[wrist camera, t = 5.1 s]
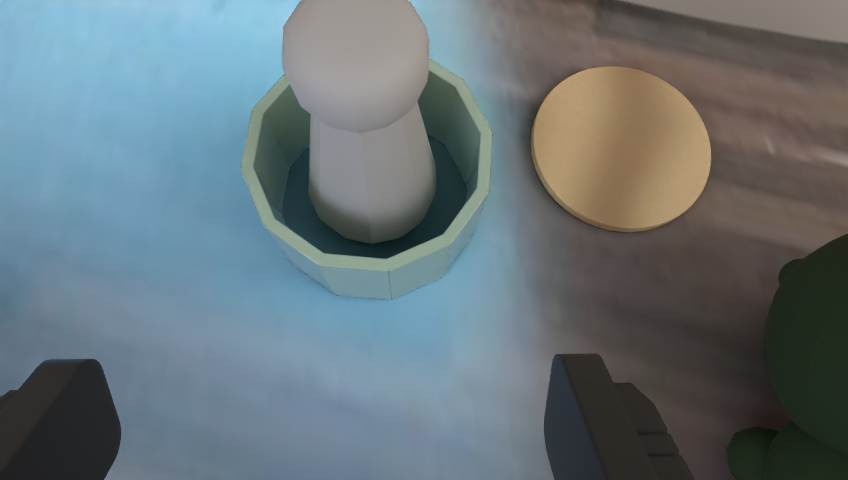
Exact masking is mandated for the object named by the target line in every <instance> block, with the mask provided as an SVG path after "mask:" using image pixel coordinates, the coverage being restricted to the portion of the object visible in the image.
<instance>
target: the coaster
mask: <svg viewBox="0 0 848 480" xmlns="http://www.w3.org/2000/svg"><path fill="white" fill-rule="evenodd" d="M531 153H532V158H533V162H534V166H535V169H536V172H537V174H538V176H539V178H540V180H541V182H542V184H543V185H544V187H545V188H546V190H547V191H548V193H549V194H550V195H551V196H552V197H553V198H554V200H555V201H556V202H557V203H558V204H560V205H561V206H562V207H563V208H564V209H565V210H566V211H568V212H569V213H571V214H572V215H573V216H575V217H577V218H579V219H580V220H582V221H584V222H586V223H589V224H591V225H593V226H596V227H599V228H603V229H606V230H612V231H618V232H638V231H646V230H650V229H654V228H657V227H660V226H662V225H665V224H667V223H669V222H670V221H672V220H674V219H676V218H677V217H678V216H680V215H681V214H682V213H684V212H685V211H686V210H687V209H689V208H690V207H691V205H692V204H693V203H694V202H695V201H696V200H697V198H698V197H699V196H700V194H701V193H702V191H703V189H704V187H705V185H706V182H707V179H708V176H709V173H710V166H711V148H710V141H709V137H708V134H707V131H706V128H705V126H704V123H703V121H702V119H701V118H700V116H699V114H698V113H697V111H696V110H695V108H694V107H693V106H692V104H691V103H690V102H689V101H688V100H687V99H686V98H685V97H684V96H683V95H682V94H681V93H680V92H679V91H678V90H677V89H675V88H674V87H673V86H671V85H670V84H668V83H667V82H665V81H664V80H662V79H660V78H658V77H656V76H654V75H652V74H649V73H647V72H644V71H641V70H637V69H633V68H627V67H620V66H605V67H596V68H591V69H587V70H584V71H581V72H578V73H576V74H574V75H572V76H570V77H568V78H567V79H565V80H564V81H562V82H560V83H559V84H558V85H557V86H556V87H555V88H554V89H552V91H551V92H550V93H549V94H548V95H547V97H546V98H545V99H544V101H543V103H542V104H541V106H540V108H539V111H538V113H537V115H536V118H535V120H534V124H533V127H532V133H531Z"/></svg>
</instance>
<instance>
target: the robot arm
mask: <svg viewBox="0 0 848 480" xmlns="http://www.w3.org/2000/svg"><path fill="white" fill-rule="evenodd" d="M544 435H545V444H546V450H547V454H548V458H549V462H550V465H551V469H552V472H553V476H554V479H555V480H694V478H693V476H692V474H691V472H690V470H689V469H688V467H687V465H686V463H685V461H684V459H683V457H682V456H679V452H678V451H679V450H678V448H677V446H676V444H675V442H674V441H673V439H672V437H671V435H670V434H668V433H667V428H666V426H665V424H664V422H663V420H662V418H661V416H660V415H659V413H658V411H657V409H656V407H655V405H654V404H653V403H652V402H651V401H650V400H649V399H648V398H647V397H646V396H645V395H643V394H642V393H641V392H640V391H639V390H638V389H637V388H636V387H635V386H634V385H633V384H631V383H613V381H612V379H611V376H610V374H609V372H608V370H607V368H606V366H605V364H604V362H603V360H602V358H601V356H600V355H598V354H556V355H555V356H554V358H553V362H552V368H551V375H550V382H549V389H548V396H547V403H546V410H545V417H544ZM120 440H121V426H120V421H119V418H118V415H117V412H116V409H115V406H114V403H113V400H112V396H111V393H110V390H109V387H108V384H107V381H106V378H105V375H104V372H103V369H102V366H101V365H100V363H99V362H98V361H97V360H95V359H50V360H46V361H44V362H42V363H41V364H40V365H39V366H38V367H37V368H36V369H35V371H34V372H33V373H32V374H31V375H30V376H29V378H28V379H27V380H26V381H25V382H24V383H23V385H22V386H21V387H20V388H19V389H18V390H10V391H9V392H7V393H6V394H5V395H3V396H2V397H0V480H104V479H105V477H106V475H107V473H108V471H109V470H110V468H111V466H112V464H113V462H114V460H115V458H116V456H117V453H118V450H119V446H120Z"/></svg>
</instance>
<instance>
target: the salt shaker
mask: <svg viewBox="0 0 848 480" xmlns="http://www.w3.org/2000/svg"><path fill="white" fill-rule="evenodd" d="M282 64H283V70H284V73H285V75H286V77H287V79H288V81H289V83H290V85H291V87H292V89H293V92H294V94H295V96H296V98H297V100H298V102H299V104H300V106H301V107H302V108H303V109H304V110H306V111H307V112H309V113H310V114H311V119H310V146H309V177H308V194H309V197H310V199H311V201H312V203H313V205H314V208H315V210H316V212H317V214H318V216H319V219H321V220H322V221H323V222H324V223H325V224H327V225H328V226H330V227H331V228H332V229H334V230H335V231H336V232H338V233H339V234H340V235H342V236H343V237H344V238H347V239H351V240H356V241H360V242H365V243H369V244H376V243H380V242H385V241H389V240H394V239H398V238H401V237H403V236H404V235H405V234H406V233H408V232H409V231H410V230H412V229H413V228H414V227H416V226H417V225H418V224H419V223H421V222H422V221H423V220H424V218H425V216H426V214H427V212H428V209H429V207H430V205H431V203H432V201H433V199H434V197H435V195H436V164H435V161H434V157H433V154H432V151H431V147H430V144H429V140H428V137H427V133H426V130H425V126H424V123H423V119H422V116H421V113H420V109H419V106H418V102H417V101H418V99H419V97H420V95H421V93H422V91H423V89H424V87H425V85H426V83H427V80H428V73H429V40H428V35H427V30H426V27H425V25H424V24H423V22H422V20H421V19H420V17H419V15H418V14H417V12H416V10H415V9H414V7H413V5H412V4H411V3H410V2H409V1H407V0H302V1H301V2H299V4H298V5H297V7H296V8H295V10H294V11H293V13H292V14H291V16H290V17H289V19H288V20H287V22H286V23H285V25H284V27H283V45H282Z"/></svg>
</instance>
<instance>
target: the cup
mask: <svg viewBox="0 0 848 480" xmlns="http://www.w3.org/2000/svg"><path fill="white" fill-rule="evenodd" d="M417 102H418V106H419V109H420V113H421V116H422V119H423V123H424V126H425V130H426V133H427V134H428V135H430V136H431V137H433V138H435V139H436V140H438V141H439V142H441V143H442V144H444V145H445V146H446V147H447V149H448V151H449V152H450V154H451V156H452V158H453V160H454V162H455V164H456V166H457V168H458V170H459V172H460V174H461V175H462V177H463V179H464V181H465V183H466V185H467V188H466V202H465V205H464V206H463V208H462V209H461V210H460V212H459V213H458V214H457V216H456V217H455V218H454V220H453V221H452V223H451V224H450V225H449V227H448V228H447V229H446V231H445V232H444V234H442V235H440V236H438V237H436V238H433V239H431V240H429V241H426V242H424V243H422V244H420V245H417V246H415V247H413V248H410V249H408V250H406V251H404V252H401V253H399V254H397V255H394V256H392V257H390V258H387V259H382V258H371V257H360V256H350V255H339V254H328V253H323V252H322V251H320V250H319V249H317V248H316V247H315V246H313V245H312V244H310V243H309V242H307V241H306V240H305V239H303V238H302V237H300V236H299V235H298V234H296V233H295V232H293V231H292V230H290V229H289V228H288V227H287V225H286V222H285V220H284V218H283V215H282V209H283V203H284V197H285V191H286V186H287V180H288V174H289V169H290V167H291V166H292V165H293V164H294V163H295V162H296V160H297V159H298V158H299V157H300V156H301V155H302V153H303V152H304V151H305V150H306V149H307V148H308V146H309V145H310V119H311V114H310V113H309V112H307V111H306V110H304V109H303V108H302V107H301V106H300V104H299V102H298V100H297V98H296V96H295V94H294V92H293V89H292V87H291V85H290V83H289V81H288V79H287V77H286V75H285V74H284V75H283V76H282V77H281V78H280V79H279V80H278V81H277V83H276V84H275V85H274V86H273V87H272V88H271V89H270V90H269V91H268V92H267V94H266V95H265V96H264V97H263V98H262V99H261V100H260V101H259V102H258V104H257V105H256V106H255V107H254V108H253V110H252V113H251V118H250V123H249V128H248V133H247V138H246V143H245V148H244V153H243V158H242V163H241V172H242V174H243V177H244V179H245V182H246V184H247V187H248V189H249V191H250V194H251V196H252V199H253V201H254V204H255V206H256V209H257V211H258V214H259V216H260V218H261V221H262V223H263V226H264V227H265V228H266V230H267V231H268V232H269V234H270V235H271V236H272V238H273V239H274V240H275V242H276V243H277V245H278V246H279V247H280V249H281V250H282V251H283V253H284V254H285V255H286V257H287V258H288V259H289V261H290V262H291V263H292V264H293V265H294V266H295V267H297V268H298V269H300V270H301V271H302V272H304V273H305V274H307V275H308V276H309V277H311V278H312V279H314V280H315V281H316V282H318V283H319V284H321V285H322V286H323V287H325V288H326V289H328V290H329V291H330V292H332V293H333V294H336V295H341V296H352V297H362V298H373V299H384V300H391V299H392V300H393V299H396V298H398V297H400V296H402V295H405V294H407V293H409V292H411V291H413V290H416V289H418V288H420V287H422V286H425V285H427V284H429V283H431V282H433V281H436V280H438V279H440V278H442V276H444V275H445V274H446V272H447V271H448V269H449V268H450V266H451V265H452V264H453V262H454V261H455V259H456V258H457V257H458V255H459V254H460V252H461V251H462V250H463V248H464V247H465V245H466V244H467V243H468V241H469V240H470V238H471V237H472V236H473V233H474V231H475V228H476V225H477V222H478V220H479V217H480V214H481V212H482V209H483V206H484V204H485V201H486V198H487V196H488V193H489V189H490V172H491V154H492V137H493V133H492V130H491V128H490V126H489V125H488V123H487V121H486V119H485V117H484V115H483V114H482V112H481V110H480V108H479V106H478V105H477V103H476V101H475V99H474V97H473V96H472V94H471V92H470V90H469V88H468V86H467V85H466V83H465V81H463V79H461V78H460V77H458V76H456V75H455V74H453V73H452V72H450V71H448V70H447V69H445V68H444V67H442V66H440V65H439V64H437V63H435V62H434V61H432V60H431V59H429V73H428V80H427V83H426V85H425V87H424V89H423V91H422V93H421V95H420V97H419V99H418V101H417Z"/></svg>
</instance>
